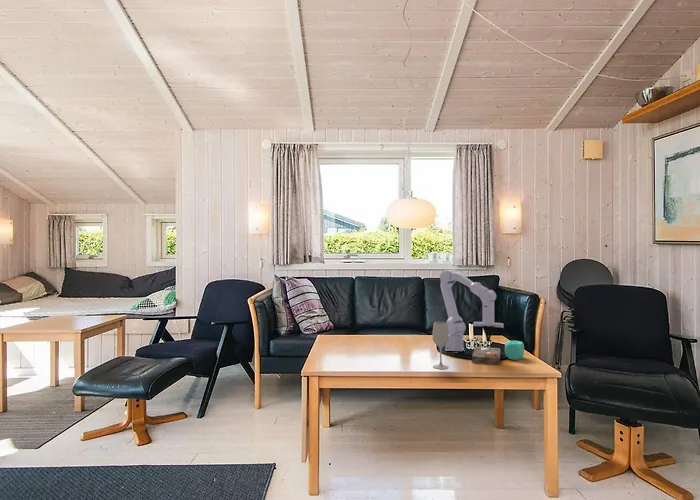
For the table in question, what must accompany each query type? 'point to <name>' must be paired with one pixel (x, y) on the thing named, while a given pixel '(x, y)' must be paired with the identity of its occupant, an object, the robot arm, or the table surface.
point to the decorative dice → (514, 350)
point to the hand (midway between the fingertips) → (488, 340)
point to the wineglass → (440, 339)
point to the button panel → (481, 357)
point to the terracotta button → (490, 354)
